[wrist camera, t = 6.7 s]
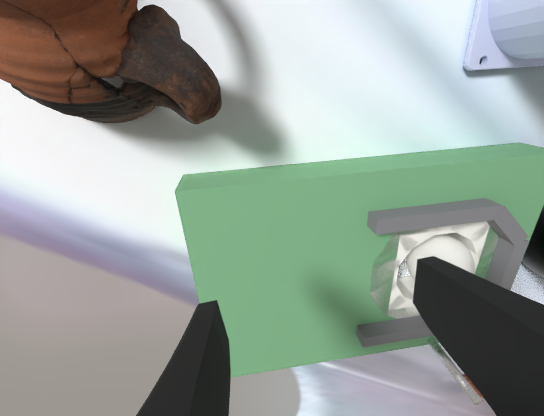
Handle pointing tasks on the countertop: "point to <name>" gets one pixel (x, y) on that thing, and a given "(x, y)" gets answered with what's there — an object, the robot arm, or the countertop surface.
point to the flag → (457, 373)
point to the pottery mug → (103, 60)
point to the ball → (441, 253)
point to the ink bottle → (536, 248)
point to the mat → (348, 245)
